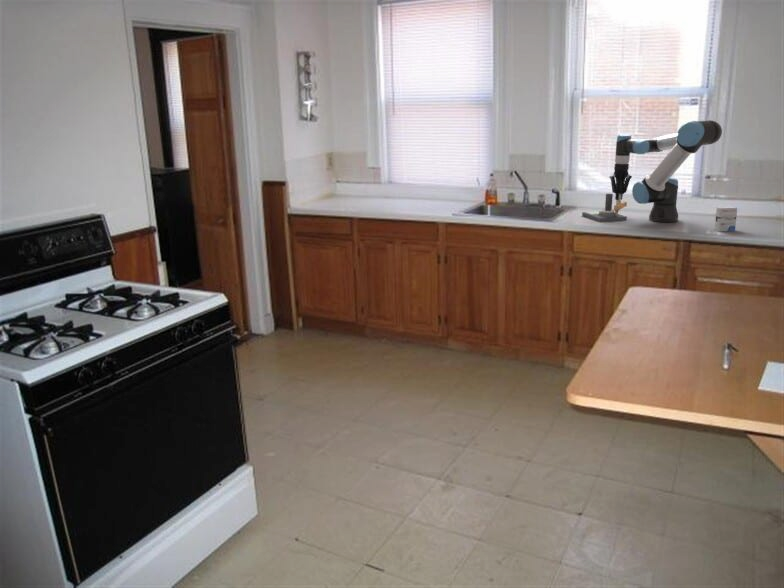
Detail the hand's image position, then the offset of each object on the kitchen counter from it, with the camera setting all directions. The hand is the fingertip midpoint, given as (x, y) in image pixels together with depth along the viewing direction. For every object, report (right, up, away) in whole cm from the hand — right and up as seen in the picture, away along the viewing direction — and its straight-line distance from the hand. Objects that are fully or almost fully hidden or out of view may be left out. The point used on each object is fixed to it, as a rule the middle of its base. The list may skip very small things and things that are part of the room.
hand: (618, 205), depth 398 cm
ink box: (+42, -18, -38) cm, 59 cm away
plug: (-7, -6, -5) cm, 11 cm away
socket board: (-8, -7, -1) cm, 11 cm away
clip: (0, -2, -3) cm, 4 cm away
